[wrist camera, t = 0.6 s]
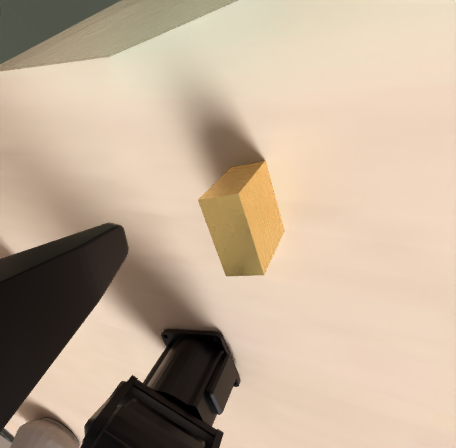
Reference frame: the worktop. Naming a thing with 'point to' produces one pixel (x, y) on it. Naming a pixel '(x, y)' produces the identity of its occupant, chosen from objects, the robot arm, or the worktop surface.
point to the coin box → (86, 27)
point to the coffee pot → (44, 435)
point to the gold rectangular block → (243, 219)
